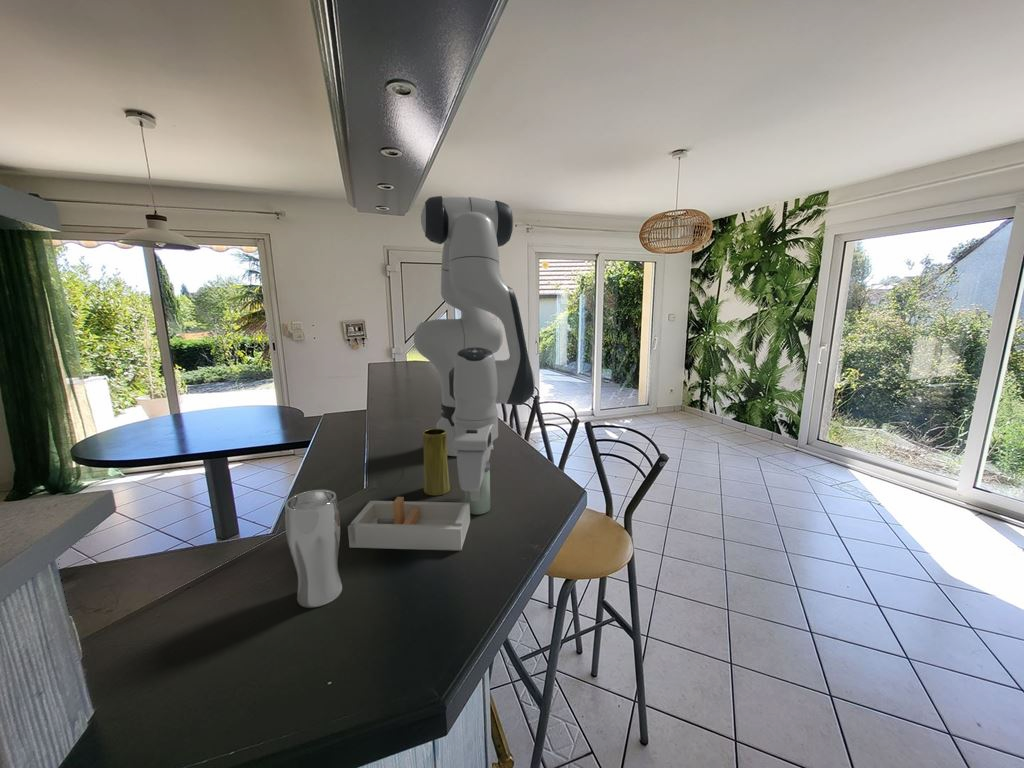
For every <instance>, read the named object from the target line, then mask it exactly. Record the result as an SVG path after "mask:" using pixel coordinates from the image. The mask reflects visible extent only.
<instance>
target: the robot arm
mask: <svg viewBox="0 0 1024 768" xmlns="http://www.w3.org/2000/svg"><path fill="white" fill-rule="evenodd" d="M514 223H515V222H514V216H513V212H512V209H511V207H510V205H509V204H507V203H505V202H502V201H500V200H495V201H494V200H490V199H487V198H486V199H485V198H480V197H479V198H478V197H473V196H468V197H464V196H463V197H462V196H461V197H460V196H450V197H449V196H447V197H443V196H442V195H440V196H439V195H438V196H431V197H428V199H427V200H426V201H424V205H423V208H422V210H421V214H420V224H421V229H422V231H423V232H424V236H425V238H426V239H427V240H428V241H429V242H432V243H435V244H438V245H443V247H442V253H441V254H442V255H441V265H440V266H441V270H440V271H441V274H440V280H441V281H440V295H441V298H442V300H443V301H444V302H445V303H446V304H448V305H449V306H451V307H452V308H454V309H457V310H458V311H460V312H461V316H460V318H446V319H445V318H442V319H440V318H435V319H431V320H426V321H422V322H420V323H419V324H418V325H417V327H416V328H415V330H414V334H413V343H414V347H415V349H416V351H417V352H418V353H419V354H420V355H421V356H422V357H424V358H425V359H427V360H428V361H429V363H431V364H432V365H433V367H434V368H435V370H436V372H437V374H438V377H439V381H440V387H441V388H440V389H441V398H442V399H441V401H442V402H441V405H440V415H441V418H440V419H439V420H438V421H437V422H436V428H438V429H444V430H446V434H447V456H450V457H456V464H457V465H456V467H457V474H458V483H459V487H460V489H461V491H464V492H465V491H470V499H471V501H479V499H480V486H481V483H482V480H483V477H484V473H485V466H486V462H487V461H488V462H489V461H490V457H491V452H492V451H493V450H494V444H493V442H494V441H495V440H497V438H498V437H499V412H498V411H499V410H498V409H497V404H499V405H500V404H501V405H502V404H506V405H512V406H513V405H515V406H522V405H523V404H526V402H528V400H529V399H531V398H532V397H533V395H534V394H535V393H534V392H535V388H536V380H535V374H534V371H533V368H532V366H531V362H530V358H529V353H528V349H527V347H528V346H527V342H526V337H525V333H524V327H523V322H522V318H521V317H522V316H521V313H520V312H521V311H520V307H519V303H518V300H517V296H516V293H515V291H514V290H513V288H512V287H510V286H509V285H507V284H506V283H505V280H504V279H503V276H502V274H501V270H500V255H499V254H500V253H499V248H500V247H503V246H505V245H506V244H508V242H509V241H510V240H511V237H512V235H513V232H514V231H513V230H514V225H515V224H514ZM489 313H490V314H492V315H494V316H496V318H498V319H499V320H500V322H501V323H502V325H503V328H504V333H505V338H506V343H507V348H508V349H507V350H508V353H509V357H508V358H506V359H503V360H502V359H501V360H496V359H495V353H497V352H498V351H499V350H500V348H501V347H502V345H503V341H504V335H503V331H502V328H501V326H500V325H499V324H498V322H497V321H496V320H494V319H493V318H492V317H491V316H490V315H489Z"/></svg>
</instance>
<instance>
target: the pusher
mask: <svg viewBox="0 0 1024 768" xmlns="http://www.w3.org/2000/svg"><path fill="white" fill-rule="evenodd" d="M404 500H405V499H404V496H396V498H395V499H394V500H393V501H394V502H393V513H394V519H384V518H378V519H377V524H405V525H416V524H417V522H418V520H419V518H420V515H419V508H412V510H411V512H410V513H409V515H408V517H407V518H406V520H405V516H404Z"/></svg>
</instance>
